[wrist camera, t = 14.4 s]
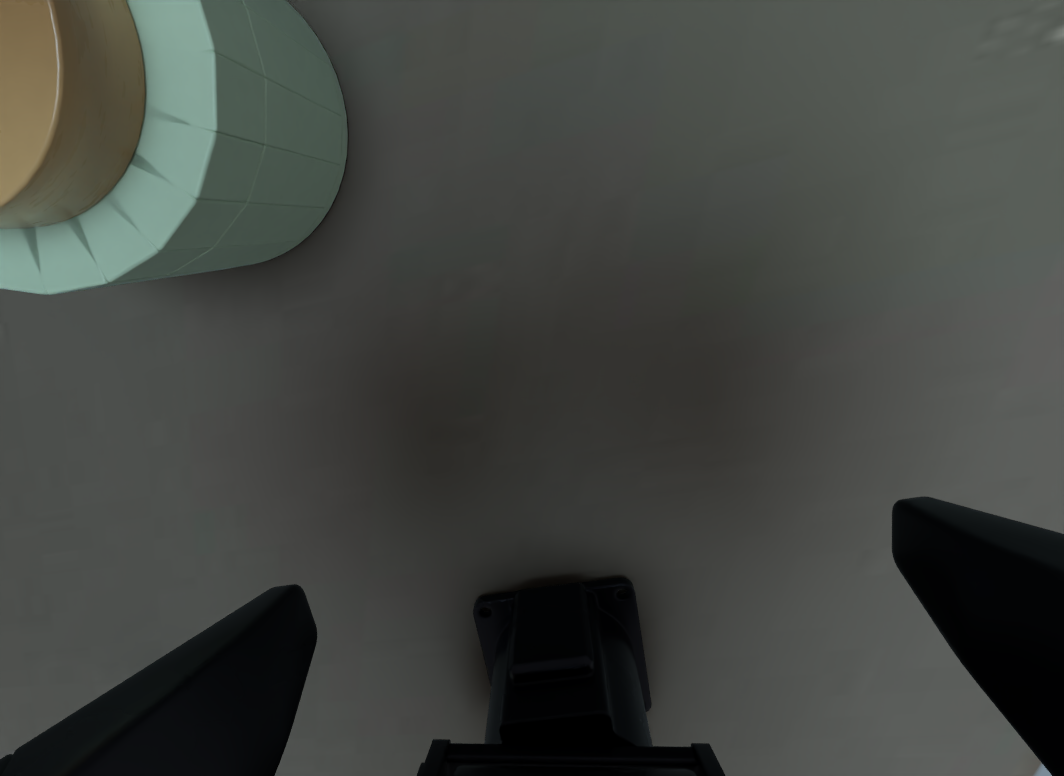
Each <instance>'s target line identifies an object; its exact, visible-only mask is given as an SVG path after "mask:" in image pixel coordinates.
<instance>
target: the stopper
mask: <svg viewBox="0 0 1064 776" xmlns="http://www.w3.org/2000/svg"><path fill="white" fill-rule="evenodd" d="M144 106H145V73H144V65H143V59H142V52H141V46H140V42H139V39H138V35H137V31H136V28H135V24H134V20H133V18H132V15H131V13H130V10H129V8H128V5H127V2H126V0H0V229H28V228H36V227H44V226H49V225H53V224H57V223H60V222H64V221H66V220H68V219H71V218H73V217H75V216H77V215H79V214H82V213H83V212H84V211H86V210H87V209H89V208H90V207H92V206H93V205H95V204H96V203H98V202H99V201H100V200H101V199H102V198H103V197H104V196H105V195H106V194H107V193H108V192H109V191H110V190H112V188H113V187H114V186H115V184H116V183H117V182H118V180H119V179H120V178H121V176H122V175H123V173H124V172H125V170H126V168H127V166H128V164H129V162H130V160H131V159H132V156H133V154H134V151H135V148H136V145H137V143H138V140H139V136H140V132H141V127H142V122H143V117H144Z"/></svg>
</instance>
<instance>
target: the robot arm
mask: <svg viewBox="0 0 1064 776" xmlns="http://www.w3.org/2000/svg"><path fill="white" fill-rule="evenodd" d="M892 553H893V558H894V561H895V563H896V565H897V567H898V569H899V570H900V572H901V573H902V575H903V576H904V578H905V579H906V581H907V582H908V584H909V585H910V587H911V589H912V590H913V592H914V593H915V595H916V596H917V598H918V599H919V601H920V602H921V604H922V605H923V607H924V608H925V610H926V611H927V613H928V614H929V616H930V617H931V619H932V620H933V622H934V623H935V625H936V626H937V628H938V629H939V631H940V632H941V634H942V635H943V637H944V638H945V640H946V641H947V643H948V644H949V646H950V647H951V649H952V650H953V652H954V653H955V654H956V656H957V657H958V659H959V660H960V662H961V663H962V664H963V665H964V667H965V668H966V669H967V671H968V672H969V673H970V674H971V676H972V677H973V678H974V680H975V681H976V682H977V683H978V685H979V686H980V687H981V688H982V689H983V691H984V692H985V693H986V694H987V696H988V697H989V698H990V699H991V701H992V702H993V703H994V704H995V706H996V707H997V708H998V709H999V710H1000V712H1001V713H1002V714H1003V715H1004V717H1005V718H1006V719H1007V720H1008V722H1009V723H1010V724H1011V725H1012V726H1013V728H1014V729H1015V730H1016V731H1017V733H1018V734H1019V735H1020V736H1021V738H1022V739H1023V740H1024V741H1025V743H1026V744H1027V745H1028V746H1029V747H1030V749H1031V750H1032V751H1033V752H1034V754H1035V755H1036V756H1037V757H1038V759H1039V760H1040V761H1041V762H1042V764H1043V765H1044V766H1045V767H1046V768H1047V770H1048V771H1049V772H1050V773H1051V775H1052V776H1064V534H1062V533H1058V532H1054V531H1051V530H1047V529H1043V528H1040V527H1036V526H1032V525H1029V524H1025V523H1022V522H1018V521H1014V520H1011V519H1007V518H1003V517H1000V516H996V515H993V514H989V513H985V512H982V511H978V510H974V509H971V508H967V507H964V506H960V505H956V504H953V503H949V502H945V501H942V500H938V499H935V498H931V497H916V498H909V499H902V500H898V501H897V502H896V503H895V504H894V506H893V510H892ZM621 589H625V590H627V591H626V592H625V593H623V594H619V593H617V591H618V590H621ZM484 607H485V608H489V609H490V610H491V611H488V612H487V611H483V610H482V609H481V608H484ZM473 615H474V619H475V623H476V627H477V631H478V635H479V639H480V643H481V647H482V651H483V656H484V660H485V664H486V668H487V672H488V676H489V680H490V684H491V693H490V702H489V710H488V718H487V726H486V734H485V743H484V744H462V743H451V741H450V740H437V739H433V741H432V744H431V747H430V749H429V752H428V755H427V757H426V760H425V763H421V765H420V768H419V771H418V773H417V776H725V774H724V772H723V770H722V768H721V766H720V764H719V762H718V760H717V758H716V756H715V754H714V752H713V750H712V748H711V746H710V744H703V743H692V744H691V747H659V746H652V741H651V736H650V731H649V726H648V721H647V716H646V712H647V711H649V709H650V708H651V698H650V691H649V684H648V678H647V671H646V664H645V657H644V650H643V644H642V637H641V630H640V623H639V616H638V609H637V603H636V596H635V591H634V586H633V584H632V582H631V581H630V580H629V579H626V578H613V579H606V580H598V581H591V582H584V583H570V584H563V585H555V586H548V587H541V588H533V589H526V590H520V591H517V592H509V593H502V594H495V595H487V596H482V597H480V598H478V599H477V600H476V602H475V604H474V610H473ZM316 642H317V628H316V624H315V622H314V619H313V616H312V613H311V610H310V607H309V604H308V601H307V598H306V595H305V593H304V591H303V589H302V588H301V587H300V586H298V585H296V584H294V585H286V586H279V587H274V588H271V589H269V590H267V591H266V592H264V593H263V594H261V595H260V596H258V597H256V598H255V599H253V600H252V601H250V602H249V603H247V604H245V605H244V606H242V607H241V608H239V609H237V610H236V611H234V612H233V613H231V614H230V615H228V616H226V617H225V618H223V619H222V620H220V621H218V622H217V623H215V624H214V625H212V626H211V627H209V628H207V629H206V630H204V631H203V632H201V633H200V634H198V635H196V636H195V637H193V638H192V639H190V640H188V641H187V642H185V643H184V644H182V645H181V646H179V647H177V648H176V649H174V650H173V651H171V652H169V653H168V654H166V655H165V656H163V657H162V658H160V659H158V660H157V661H155V662H154V663H152V664H150V665H149V666H147V667H146V668H144V669H143V670H141V671H139V672H138V673H136V674H135V675H133V676H132V677H130V678H128V679H127V680H125V681H124V682H122V683H120V684H119V685H117V686H116V687H114V688H113V689H111V690H109V691H108V692H106V693H105V694H103V695H101V696H100V697H98V698H97V699H95V700H94V701H92V702H90V703H89V704H87V705H86V706H84V707H83V708H81V709H79V710H78V711H76V712H75V713H73V714H71V715H70V716H68V717H67V718H65V719H64V720H62V721H60V722H59V723H57V724H56V725H54V726H52V727H51V728H49V729H48V730H46V731H45V732H43V733H41V734H40V735H38V736H37V737H35V738H33V739H32V740H30V741H29V742H27V743H26V744H24V745H22V746H21V747H19V748H18V749H17V750H16V751H15V752H14V754H13V755H12V754H9V755H6V756H5V757H3V758H2V759H0V776H274V775H275V773H276V770H277V768H278V765H279V763H280V760H281V757H282V755H283V752H284V749H285V747H286V744H287V741H288V738H289V735H290V732H291V729H292V726H293V722H294V719H295V715H296V712H297V709H298V705H299V702H300V698H301V695H302V691H303V688H304V684H305V681H306V677H307V674H308V671H309V667H310V664H311V660H312V657H313V653H314V650H315V646H316Z"/></svg>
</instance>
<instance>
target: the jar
mask: <svg viewBox="0 0 1064 776" xmlns="http://www.w3.org/2000/svg"><path fill="white" fill-rule="evenodd" d="M126 2H127V5H128V8H129V10H130V13H131V15H132V18H133V20H134V24H135V28H136V31H137V35H138V39H139V42H140V46H141V52H142V59H143V65H144V73H145V106H144V117H143V122H142V127H141V132H140V136H139V140H138V143H137V145H136V148H135V151H134V154H133V156H132V159H131V160H130V162H129V164H128V166H127V168H126V170H125V172H124V173H123V175H122V176H121V178H120V179H119V180H118V182H117V183H116V184H115V186H114V187H113V188H112V190H110V191H109V192H108V193H107V194H106V195H105V196H104V197H103V198H102V199H101V200H100V201H99V202H98V203H96V204H95V205H93V206H92V207H90V208H89V209H87V210H86V211H84V212H83V213H82V214H79V215H77V216H75V217H73V218H71V219H68V220H66V221H64V222H60V223H57V224H53V225H49V226H44V227H36V228H28V229H0V289H7V290H14V291H22V292H29V293H36V294H43V295H49V294H50V295H54V294H61V293H67V292H74V291H81V290H88V289H95V288H101V287H108V286H115V285H122V284H129V283H135V282H142V281H149V280H156V279H163V278H169V277H176V276H183V275H190V274H197V273H203V272H210V271H217V270H224V269H229V268H235V267H240V266H246V265H253V264H257V263H262V262H264V261H268V260H270V259H273V258H275V257H277V256H280V255H282V254H284V253H286V252H287V251H289V250H291V249H292V248H294V247H295V246H297V245H298V244H300V243H301V242H302V241H303V240H304V239H305V238H307V237H308V236H309V235H310V234H311V233H312V232H313V231H314V230H315V228H316V227H317V226H318V225H319V224H320V223H321V221H322V220H323V218H324V217H325V215H326V214H327V212H328V211H329V209H330V208H331V206H332V203H333V201H334V199H335V197H336V195H337V193H338V190H339V187H340V184H341V181H342V177H343V174H344V169H345V163H346V157H347V143H348V131H347V116H346V111H345V105H344V100H343V95H342V92H341V88H340V85H339V82H338V79H337V75H336V73H335V71H334V68H333V66H332V64H331V62H330V59H329V57H328V55H327V53H326V51H325V50H324V48H323V46H322V44H321V43H320V41H319V39H318V38H317V36H316V35H315V33H314V32H313V30H312V29H311V28H310V26H309V25H308V24H307V22H306V21H305V20H304V18H303V17H302V16H301V15H300V14H299V13H298V12H297V11H296V10H295V9H294V8H293V7H292V6H291V5H290V3H289V2H287V1H286V0H126Z"/></svg>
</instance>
